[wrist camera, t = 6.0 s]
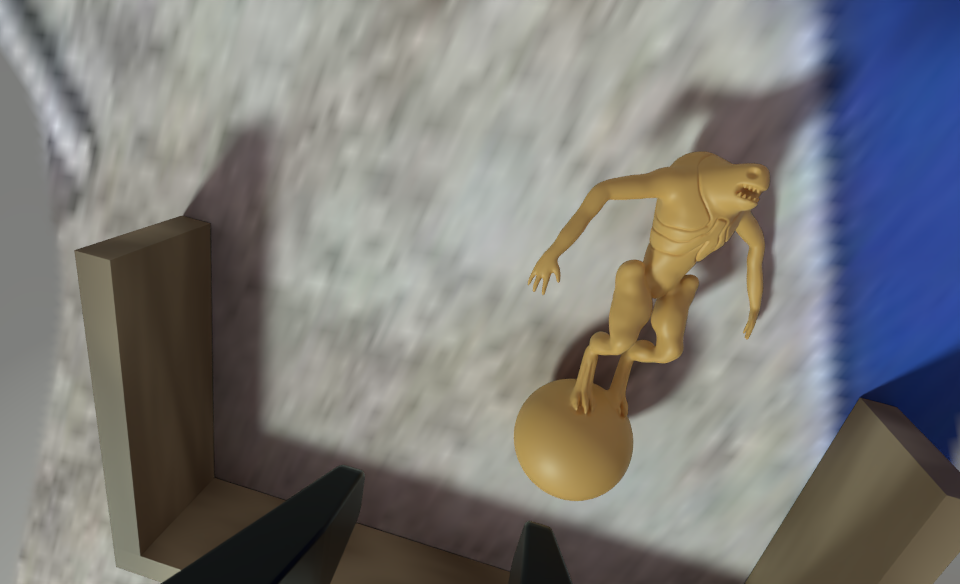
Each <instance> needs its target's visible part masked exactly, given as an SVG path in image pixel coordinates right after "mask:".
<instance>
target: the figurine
mask: <svg viewBox="0 0 960 584" xmlns="http://www.w3.org/2000/svg"><path fill="white" fill-rule="evenodd" d="M769 183H770V172H769V170H768V168H767V167H765V166H764V165H761V164H755V163H746V164H731V163H730V162H728V161H726V160H724V159H723V158H721V157H719V156H717V155H715V154H713V153H709V152H692V153H688V154H686V155H684V156H682V157H680V158H678V159H677V160H676V161H675V162H674V163H673V164H672V165H671V166H670V167H664V168H660V169H657V170H655V171H653V172H650V173H647V174H640V175H630V176H624V177H618V178H613V179H609V180H606V181H603V182H600V183H598V184H597V185H595V186H594V187H593V188H592V189H591V190H590V192H589V193H588V194H587V196H586V197H585V199H584V201H583V203H582V204H581V206H580V207H579V209H578V210H577V212H576V213H575V214H574V215H573V216H572V218H571V219H570V220H569V222H568V223H567V224H566V225H565V227H564V228H563V229H562V230H561V232H560V233H559V235H558V237H557V239H556V240H555V242H554V243H553V244H552V245H551V246H550V248H549V249H548V250H547V251H546V252H545V253H544V254H543V255H542V256H541V258H540V259H539V261H538V262H537V264H536V265H535V267H534V269H533V271H532V273H531V275H530V278H529V281H528V285H529V284H530V283H531V281H532V279H533V278H534V276H535V275H537V276H536V279H535V282H534V285H533V292H535V291H536V288H537V286H538V284H539V282H540V280H541V278H543V287H542V295H544V294H545V291H546V287H547V285H548V282H549V279H550V275H551V273H555V275H556V279H557V282H558V283H559V282H560V268H559V265H558V262H557V260H558V258H559V256H560V255H561V254H562V253H564V252H565V251H566V250H567V249H568V248H569V247H570V246H571V245H572V244H573V243H574V242H575V241H576V240H577V239H578V238H579V236H580V235H581V234H582V233H583V231H584V230H585V228H586V227H587V225H588V224H589V222H590V221H591V220H592V219H593V217H594V216H595V215H596V214H597V213H598V212H599V211H600V210H601V208H602V207H603V206H604V204H605V203H606V202H607V201H608V200H627V199H643V198H657V202H656V208H655V214H654V220H653V226H652V228H651V233H650V243H649V245H648V247H647V250H646V253H645V257H644V260H643V262H641V261H639V260H629V261H626V262H625V263H623V264H622V265H621V266H620V267H619V269H618V271H617V273H616V279H615V291H614V294H613V300H612V304H611V308H610V313H609V331H610V335H609V334H607V333H605V332H597V333H595V334H594V335H593V336H592V337H591V339H590V345H589V346H588V347H587V348H586V350H585V353H584V356H583V359H582V363H581V367H580V370H579V374H578V378H577V379H561V380H556V381H553V382H550V383H548V384H546V385H544V386H542V387H540V388H539V389H537V390H536V391H535V392H534V393H532V394H531V395H530V396H529V398H528V399H527V400H526V401H525V403H524V404H523V406H522V407H521V409H520V411H519V414H518V416H517V419H516V423H515V428H514V445H515V451H516V455H517V458H518V460H519V463H520V465H521V467H522V469H523V470H524V472H525V473H526V475H527V476H528V477H529V479H530V480H531V481H532V482H533V483H534V484H535V485H536V486H538V487H539V488H540V489H541V490H543V491H544V492H546V493H548V494H550V495H552V496H554V497H557V498H560V499H564V500H570V501H583V500H589V499H593V498H596V497H598V496H601V495H603V494H604V493H606V492H608V491H609V490H611V489H612V488H613V487H614V486H615V485H616V484H617V483H618V482H619V481H620V480H621V479H622V477H623V476H624V474H625V472H626V471H627V469H628V466H629V464H630V461H631V457H632V452H633V433H632V428H631V425H630V421H629V419H628V417H627V414H628V403H627V401H626V396H625V393H626V387H627V382H628V379H629V375H630V371H631V367H632V365H633V362H634V361H635V360H636V361H639V362H656V363H668V362H671V361H673V360H675V359H677V358H678V357H680V356H681V354H682V352H683V337H684V332H685V326H686V321H687V316H688V310H689V307H690V305H691V303H692V301H693V299H694V296H695V292H696V290H697V288H698V286H699V280H698V278H697V277H696V276H694V275H685V274H686V273H687V272H688V271H689V270H690V269H691V268H692V267H693V266H694V265H695V264H696V261H698V262H699V261H701V260H703V259H704V258H705V257H706V256H708V255H709V254H710V253H712V252H713V251H716V250H717V249H719V248H720V247H722V246H723V245H724V242H727V241H728V240H729V239H730V237H731V236H732V234H733V233H734V231H736V232H737V233H738V234H739V236H740V237H741V238H742V239H743V240H744V241H745V242H746V243H747V244H748V245H749V252H748V256H747V291H748V296H749V301H750V313H749V319H748V322H747V324H746V326H745V329H744V331H743V333H745V332H746V335H745V338H746V339H749V337H750V335H751V333H752V330H753V328H754V326H755V323H756V320H757V317H758V314H759V310H760V306H761V298H762V293H763V273H762V261H763V256H764V251H765V241H764V235H763V232H762V230H761V228H760V226H759V224H758V222H757V220H756V219H755V218H754V216H753V215H752V213H751V209H753V208H755V207H756V206H757V205H758V201H759V199H758V198H759V196H760V195H761V193H762V192H763V191H766V190H767V189H768V187H769ZM652 298H654V299H656V298H657V299H656V302H655V305H654V309H653V312H652V308H653V303H652ZM651 313H652V316H651ZM650 316H651V324H652V327H653V329H654V330H655V332H656V335H657V342H656V346H654V344H653V343H651V342H650V341H647V340H638V341H637V339H638V336H639V333H640V330H641V329H642V328H643V327H644V326H645V324H646V323H647V322H648V320H649V319H650ZM598 354H599V355H620V354H622V355H621V357H620V359H619V362H618V365H617V368H616V371H615V374H614V377H613V380H612V383H611V386H610V388H609V389H608V390H605V389H603V388H602V387H600V386H598V385H596V384H594V383H593V379H594V374H595V369H596V365H597V361H598Z"/></svg>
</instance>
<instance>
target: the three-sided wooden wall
mask: <svg viewBox="0 0 960 584" xmlns="http://www.w3.org/2000/svg"><path fill="white" fill-rule="evenodd" d="M74 251H75V258H76V266H77V273H78V281H79V289H80V296H81V304H82V311H83V319H84V326H85V334H86V342H87V349H88V357H89V364H90V372H91V379H92V387H93V395H94V402H95V410H96V417H97V425H98V432H99V440H100V448H101V455H102V463H103V470H104V478H105V485H106V493H107V501H108V508H109V516H110V523H111V531H112V539H113V546H114V554H115V561H116V567H118V568H121V569H124V570H126V571H129V572H132V573H135V574H138V575H141V576H144V577H147V578H150V579H153V580H156V581H159V582H161V583H162V582H164V581H165V580H167V579H168V578H170V577H171V576H173V575H174V574H176V573H177V572H179V571H180V570H182V569H183V568H185V567H186V566H188V565H190V564H191V563H193V562H194V561H196V560H197V559H199V558H200V557H202V556H203V555H205V554H206V553H208V552H209V551H211V550H212V549H214V548H215V547H217V546H218V545H220V544H221V543H223V542H224V541H226V540H227V539H229V538H230V537H232V536H233V535H235V534H236V533H238V532H239V531H241V530H242V529H244V528H245V527H247V526H248V525H250V524H252V523H253V522H255V521H256V520H258V519H259V518H261V517H262V516H264V515H265V514H267V513H268V512H270V511H271V510H273V509H274V508H276V507H277V506H279V505H280V504H282V503H283V502H285V501H286V500H282V499H279V498H276V497H273V496H270V495H267V494H264V493H260V492H257V491H254V490H251V489H248V488H245V487H242V486H239V485H235V484H232V483H229V482H226V481H223V480H220V479H217V478H214V436H213V370H212V304H211V239H210V223H207V222H203V221H200V220H196V219H192V218H188V217H185V216H179V217H176V218H173V219H170V220H167V221H164V222H161V223H158V224H154V225H151V226H148V227H145V228H142V229H139V230H136V231H133V232H130V233H127V234H123V235H120V236H117V237H114V238H111V239H108V240H105V241H102V242H99V243H96V244H93V245H89V246H86V247H83V248H80V249H77V250H74ZM959 552H960V472H959V471H958V470H957V469H956V468H955V467H954V466H953V464H952V463H951V462H950V461H949V460H948V459H947V458H946V457H945V456H944V455H943V454H942V453H941V452H940V451H939V450H938V449H937V448H936V447H935V446H934V445H933V444H932V443H931V442H930V441H929V440H928V439H927V438H926V437H925V436H924V435H923V434H922V433H921V432H920V431H919V430H918V428H917V427H916V426H915V425H914V424H913V423H912V422H911V421H910V420H909V419H908V418H907V417H906V416H905V415H904V414H903V413H902V412H901V411H900V410H899V409H898V408H897V407H894V406H890V405H886V404H883V403H879V402H875V401H871V400H868V399H864V398H859V400H858V401H857V403H856V405H855V406H854V408H853V409H852V411H851V413H850V414H849V416H848V418H847V419H846V421H845V422H844V424H843V426H842V427H841V429H840V430H839V432H838V434H837V435H836V437H835V439H834V440H833V442H832V443H831V445H830V447H829V448H828V450H827V451H826V453H825V455H824V456H823V458H822V459H821V461H820V463H819V464H818V466H817V468H816V469H815V471H814V472H813V474H812V476H811V477H810V479H809V480H808V482H807V484H806V485H805V487H804V489H803V490H802V492H801V493H800V495H799V497H798V498H797V500H796V501H795V503H794V505H793V506H792V508H791V510H790V511H789V513H788V514H787V516H786V518H785V519H784V521H783V522H782V524H781V526H780V527H779V529H778V530H777V532H776V534H775V535H774V537H773V539H772V540H771V542H770V543H769V545H768V547H767V548H766V550H765V551H764V553H763V555H762V556H761V558H760V560H759V561H758V563H757V564H756V566H755V568H754V569H753V571H752V572H751V574H750V576H749V577H748V579H747V580H746V582H745V584H933V583H934V582H935V581H936V580H937V578H938V577H939V576H940V575H941V574H942V572H943V571H944V570H945V569H946V568H947V567H948V565H949V564H950V563H951V562H952V561H953V559H954V558H955V557H956V556H957V555H958V553H959ZM509 577H510V572H509V571H505V570H502V569H499V568H496V567H493V566H490V565H487V564H484V563H480V562H477V561H474V560H471V559H468V558H465V557H462V556H458V555H455V554H452V553H449V552H446V551H443V550H440V549H436V548H433V547H430V546H427V545H424V544H421V543H418V542H414V541H411V540H408V539H405V538H402V537H399V536H396V535H392V534H389V533H386V532H383V531H380V530H377V529H374V528H370V527H367V526H364V525H361V524H358V523H356V524H355V526H354V529H353V531H352V533H351V536H350V538H349V541H348V543H347V545H346V548H345V550H344V552H343V555H342V557H341V560H340V562H339V564H338V567H337V569H336V571H335V574H334V576H333V578H332V581H331V583H330V584H508V582H509Z"/></svg>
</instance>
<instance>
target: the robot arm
mask: <svg viewBox="0 0 960 584" xmlns="http://www.w3.org/2000/svg"><path fill="white" fill-rule="evenodd" d="M364 480H365V475H364V472H363V471H362V470H359V469H356V468H352V467H349V466H346V465H341V466H338V467H336V468H335V469H333V470H332V471H330V472H329V473H327V474H326V475H324V476H323V477H321V478H320V479H318V480H317V481H315V482H314V483H312V484H311V485H309V486H307V487H306V488H304V489H303V490H301V491H300V492H298V493H297V494H295V495H294V496H292V497H291V498H289V499H288V500H286V501H285V502H283V503H282V504H280V505H279V506H277V507H276V508H274V509H273V510H271V511H270V512H268V513H267V514H265V515H264V516H262V517H261V518H259V519H258V520H256V521H255V522H253V523H252V524H250V525H248V526H247V527H245V528H244V529H242V530H241V531H239V532H238V533H236V534H235V535H233V536H232V537H230V538H229V539H227V540H226V541H224V542H223V543H221V544H220V545H218V546H217V547H215V548H214V549H212V550H211V551H209V552H208V553H206V554H205V555H203V556H202V557H200V558H199V559H197V560H196V561H194V562H193V563H191V564H190V565H188V566H186V567H185V568H183V569H182V570H180V571H179V572H177V573H176V574H174V575H173V576H171V577H170V578H168V579H167V580H165V581H164V582H162V583H161V584H330V583H331V581H332V578H333V576H334V574H335V571H336V569H337V567H338V564H339V562H340V560H341V557H342V555H343V552H344V550H345V548H346V545H347V543H348V541H349V538H350V536H351V533H352V531H353V529H354V526H355V524H356V522H357V519H358V516H359V513H360V508H361V502H362V495H363V487H364ZM508 584H572V581H571V578H570V576H569V573H568V570H567V568H566V565H565V562H564V560H563V557H562V554H561V552H560V549H559V546H558V544H557V541H556V538H555V536H554V533H553V531H552V529H551V528H550V527H548V526H545V525H542V524H538V523H535V522H532V521H528V522H526V523H525V525H524V527H523V530H522V533H521V536H520V539H519V542H518V546H517V549H516V552H515V555H514V558H513V562H512V566H511V571H510V577H509V582H508Z"/></svg>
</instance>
